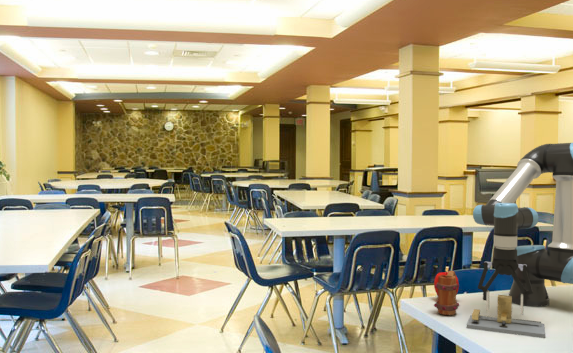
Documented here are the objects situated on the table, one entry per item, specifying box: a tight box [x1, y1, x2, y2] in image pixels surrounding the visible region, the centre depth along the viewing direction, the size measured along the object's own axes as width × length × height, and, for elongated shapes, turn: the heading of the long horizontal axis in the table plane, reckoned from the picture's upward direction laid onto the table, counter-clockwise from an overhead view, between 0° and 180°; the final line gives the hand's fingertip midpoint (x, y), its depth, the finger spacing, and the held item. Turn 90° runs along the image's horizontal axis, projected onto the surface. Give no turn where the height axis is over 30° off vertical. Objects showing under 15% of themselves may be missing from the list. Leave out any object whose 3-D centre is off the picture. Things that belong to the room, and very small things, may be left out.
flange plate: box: [466, 314, 546, 339], centre depth 180 cm, size 24×13×1 cm, turn 65°
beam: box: [471, 308, 542, 327], centre depth 179 cm, size 22×7×3 cm, turn 65°
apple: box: [433, 271, 460, 296], centre depth 217 cm, size 10×10×12 cm
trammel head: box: [496, 294, 513, 326], centre depth 180 cm, size 4×9×8 cm, turn 155°
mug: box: [433, 270, 460, 316], centre depth 199 cm, size 15×8×15 cm, turn 148°
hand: (504, 311), depth 182 cm, fingers open, 10 cm apart
